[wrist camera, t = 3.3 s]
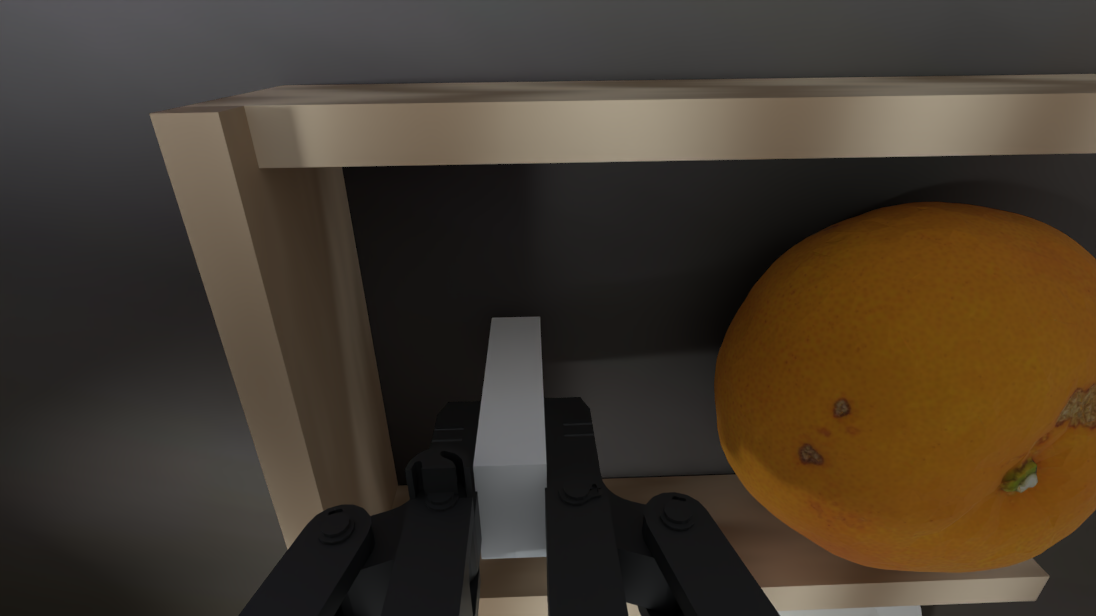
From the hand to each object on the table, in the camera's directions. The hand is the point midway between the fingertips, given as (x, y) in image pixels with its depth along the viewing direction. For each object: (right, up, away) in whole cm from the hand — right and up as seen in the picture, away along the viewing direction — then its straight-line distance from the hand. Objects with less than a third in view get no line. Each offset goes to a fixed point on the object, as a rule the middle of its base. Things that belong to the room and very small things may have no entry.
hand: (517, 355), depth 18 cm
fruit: (+11, +1, +2) cm, 11 cm away
